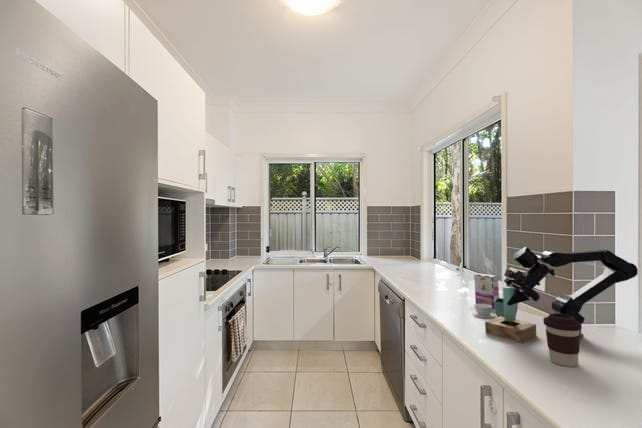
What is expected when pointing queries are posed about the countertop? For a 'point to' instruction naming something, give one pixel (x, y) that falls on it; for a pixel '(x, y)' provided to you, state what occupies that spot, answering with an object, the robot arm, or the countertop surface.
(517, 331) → the brown wooden box
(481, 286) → the candy bar box
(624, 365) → the countertop surface
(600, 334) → the countertop surface
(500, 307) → the flower pot
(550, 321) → the coffee cup
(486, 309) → the teacup
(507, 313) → the dowel
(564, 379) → the countertop surface
